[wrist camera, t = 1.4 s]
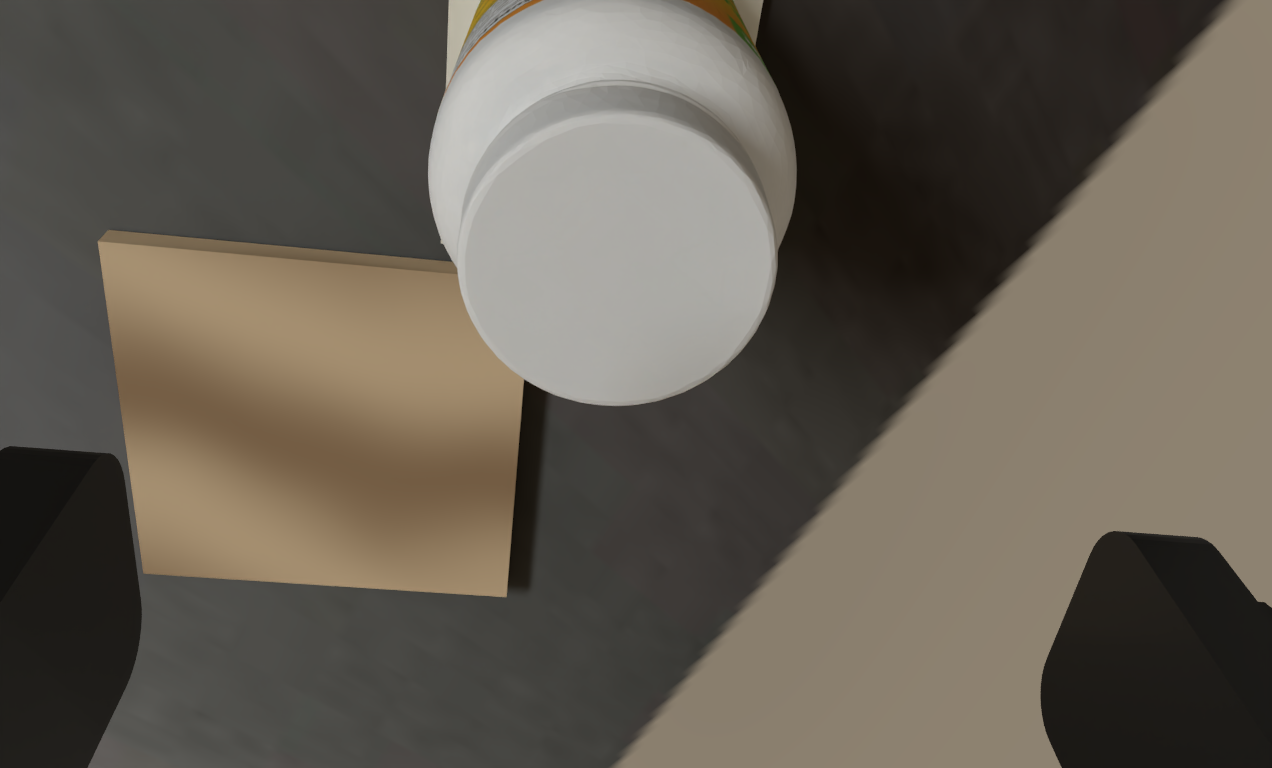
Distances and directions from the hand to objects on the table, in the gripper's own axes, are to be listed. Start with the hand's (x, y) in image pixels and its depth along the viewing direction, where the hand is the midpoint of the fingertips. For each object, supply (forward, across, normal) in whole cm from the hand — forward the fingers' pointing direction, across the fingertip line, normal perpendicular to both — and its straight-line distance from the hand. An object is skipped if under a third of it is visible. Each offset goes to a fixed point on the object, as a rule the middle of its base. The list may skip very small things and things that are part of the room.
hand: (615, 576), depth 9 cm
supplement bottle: (+15, 0, 0) cm, 15 cm away
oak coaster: (+15, +6, +9) cm, 18 cm away
